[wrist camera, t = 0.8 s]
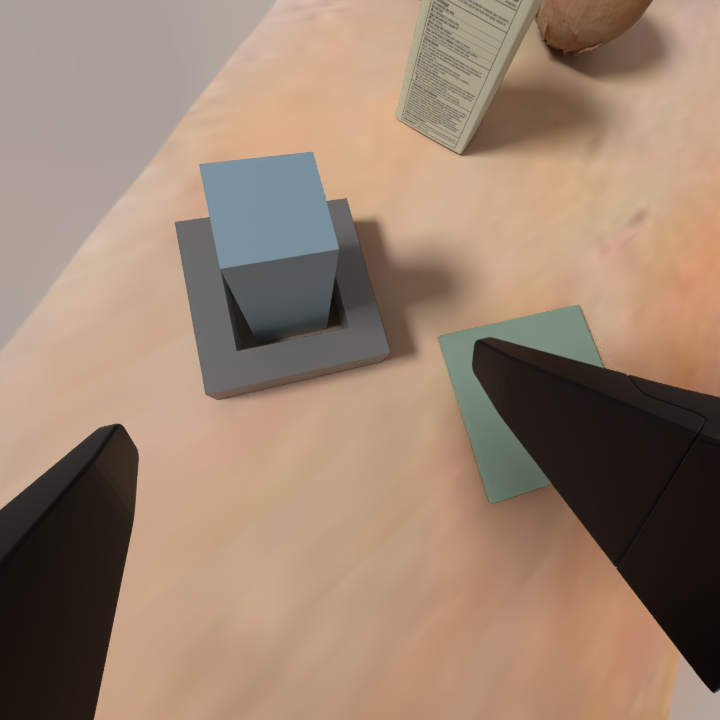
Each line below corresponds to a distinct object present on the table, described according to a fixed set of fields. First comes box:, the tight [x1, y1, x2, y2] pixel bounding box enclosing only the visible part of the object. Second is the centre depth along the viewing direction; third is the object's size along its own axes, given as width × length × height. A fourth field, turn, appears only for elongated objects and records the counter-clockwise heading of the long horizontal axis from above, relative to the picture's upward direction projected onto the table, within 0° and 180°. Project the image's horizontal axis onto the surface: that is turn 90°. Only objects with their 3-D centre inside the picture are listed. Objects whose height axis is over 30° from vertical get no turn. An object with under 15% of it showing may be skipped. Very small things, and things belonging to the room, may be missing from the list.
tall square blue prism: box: [199, 152, 339, 343], centre depth 19 cm, size 4×4×10 cm
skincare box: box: [395, 0, 543, 154], centre depth 23 cm, size 6×4×12 cm
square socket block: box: [175, 198, 390, 400], centre depth 22 cm, size 10×10×2 cm
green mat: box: [438, 305, 604, 503], centre depth 24 cm, size 11×11×1 cm
